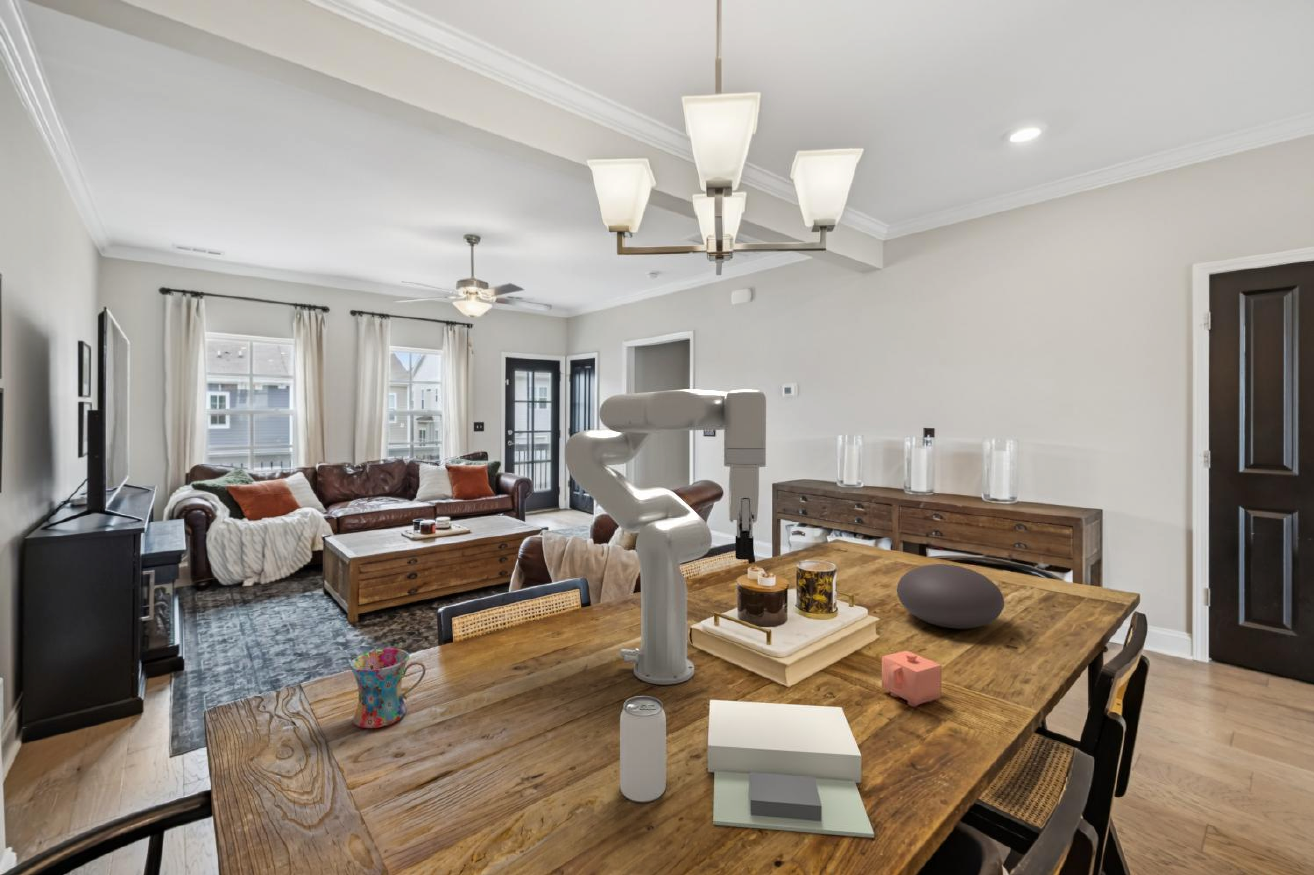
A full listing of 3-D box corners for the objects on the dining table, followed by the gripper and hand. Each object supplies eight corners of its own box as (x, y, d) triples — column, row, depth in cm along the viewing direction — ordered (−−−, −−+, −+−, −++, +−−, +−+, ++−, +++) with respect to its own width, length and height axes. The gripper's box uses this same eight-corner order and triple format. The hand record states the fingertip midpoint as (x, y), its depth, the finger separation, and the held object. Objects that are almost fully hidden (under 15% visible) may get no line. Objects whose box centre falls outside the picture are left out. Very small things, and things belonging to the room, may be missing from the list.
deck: (707, 771, 84) (707, 745, 84) (710, 722, 98) (710, 699, 98) (861, 783, 82) (861, 755, 82) (841, 730, 96) (841, 707, 95)
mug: (345, 737, 93) (344, 673, 93) (356, 710, 102) (355, 652, 102) (424, 725, 97) (423, 664, 97) (427, 700, 106) (427, 644, 106)
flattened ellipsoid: (1004, 618, 151) (1005, 562, 150) (1002, 650, 130) (1003, 585, 129) (904, 602, 164) (905, 551, 164) (888, 629, 143) (888, 570, 142)
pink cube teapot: (952, 699, 107) (953, 655, 107) (908, 713, 101) (908, 667, 101) (917, 682, 114) (917, 641, 114) (873, 694, 108) (874, 652, 108)
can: (619, 776, 83) (619, 695, 83) (663, 773, 84) (663, 693, 84) (620, 805, 77) (620, 718, 77) (668, 802, 77) (668, 716, 77)
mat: (713, 824, 73) (713, 820, 73) (714, 774, 84) (714, 771, 84) (874, 837, 71) (874, 833, 71) (854, 784, 81) (854, 781, 81)
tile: (749, 772, 80) (749, 786, 80) (750, 799, 74) (750, 815, 74) (814, 777, 79) (814, 791, 79) (821, 805, 73) (821, 821, 73)
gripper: (724, 455, 111) (723, 548, 112) (724, 460, 96) (723, 568, 97) (762, 456, 110) (762, 550, 111) (769, 461, 95) (768, 569, 96)
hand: (744, 558), depth 104 cm, fingers closed
